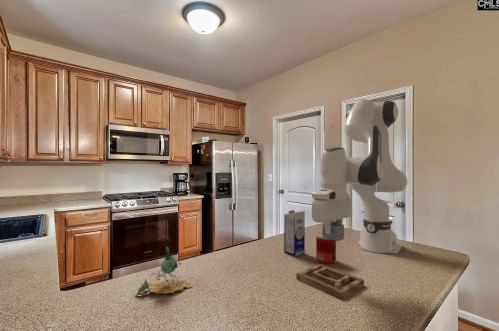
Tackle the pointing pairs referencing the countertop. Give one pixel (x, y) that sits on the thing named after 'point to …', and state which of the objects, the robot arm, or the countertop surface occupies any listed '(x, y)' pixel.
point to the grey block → (334, 231)
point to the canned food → (325, 250)
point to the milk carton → (294, 233)
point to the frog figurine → (165, 286)
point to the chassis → (330, 280)
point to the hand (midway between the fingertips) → (333, 232)
